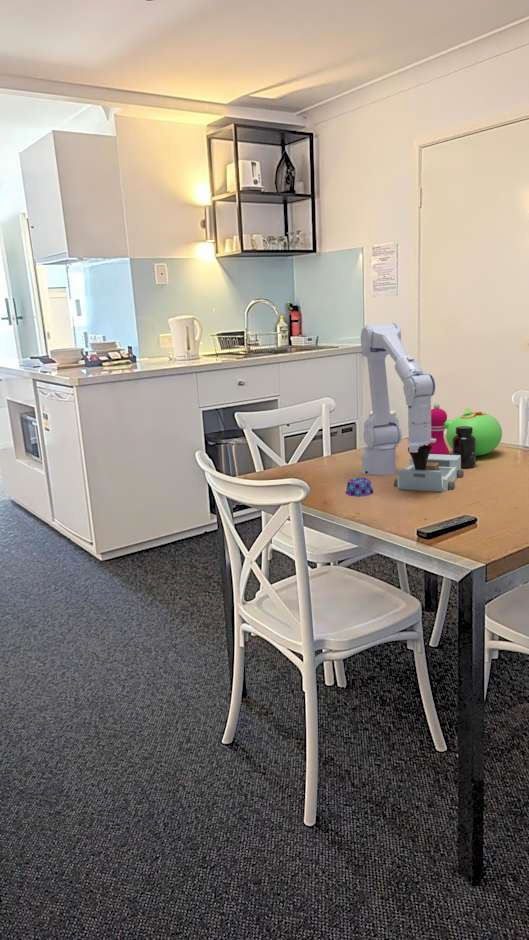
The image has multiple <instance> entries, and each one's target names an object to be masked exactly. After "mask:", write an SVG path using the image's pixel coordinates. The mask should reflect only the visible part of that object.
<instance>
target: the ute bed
mask: <svg viewBox="0 0 529 940" xmlns="http://www.w3.org/2000/svg"><path fill="white" fill-rule="evenodd" d="M427 462H433V463H439V471H441V473H442V490H443V492H447V491H453V490H454V489H455V488H456V483H455V481H456V479H462V478H463V477H464V474H465V473H464V470H462V468H461V455H452V454H449V455H440V454H429V456H428V460H427ZM405 469H415V466H414V462H413V459H412V457H411V456H410V458H409V466H408V467H406V468H405ZM399 487H400V485H399V475H398V476H397V477H396V478H394V482H393V488H397V489H399Z"/></svg>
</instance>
